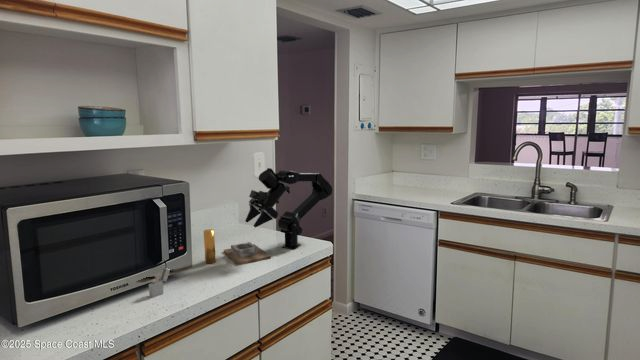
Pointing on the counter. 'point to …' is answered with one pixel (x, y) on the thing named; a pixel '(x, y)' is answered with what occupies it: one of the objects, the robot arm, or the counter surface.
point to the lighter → (158, 284)
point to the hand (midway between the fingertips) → (250, 224)
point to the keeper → (246, 253)
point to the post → (209, 246)
